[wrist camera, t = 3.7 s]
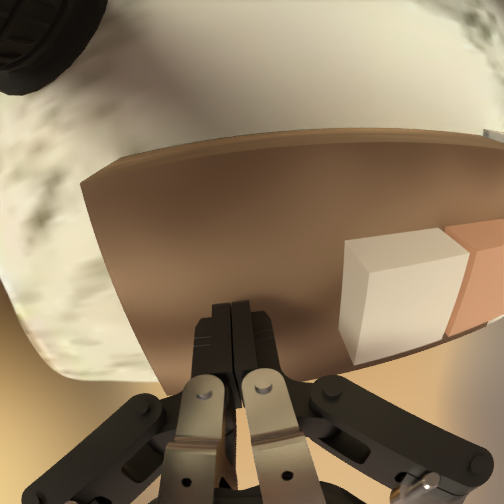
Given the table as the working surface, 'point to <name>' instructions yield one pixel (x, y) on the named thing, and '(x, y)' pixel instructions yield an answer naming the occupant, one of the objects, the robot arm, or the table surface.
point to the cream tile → (398, 291)
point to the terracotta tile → (479, 275)
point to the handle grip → (43, 39)
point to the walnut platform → (275, 230)
